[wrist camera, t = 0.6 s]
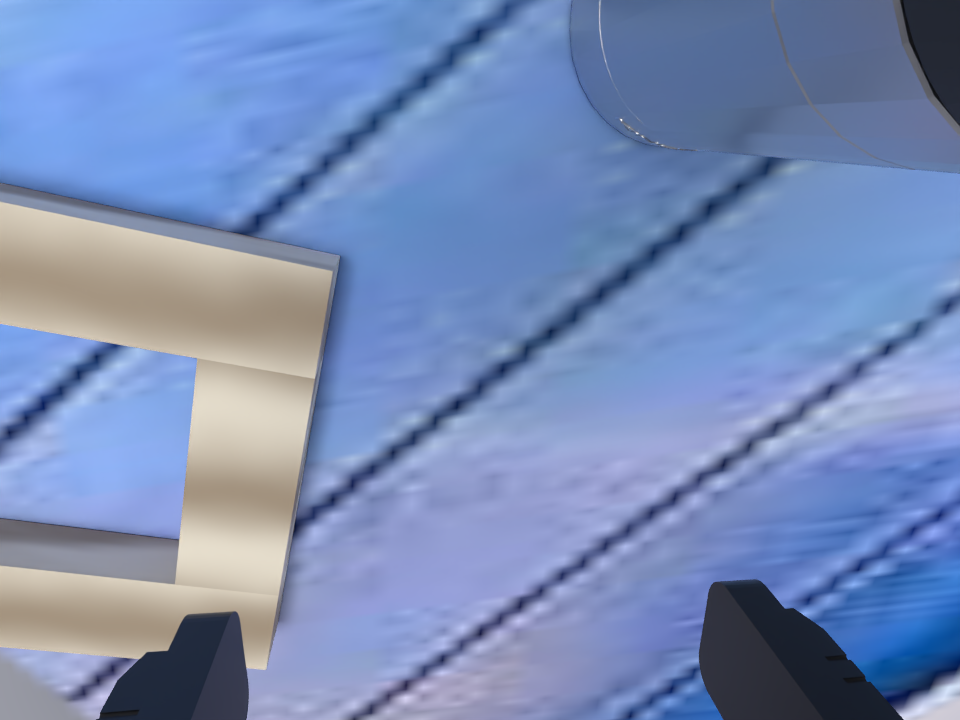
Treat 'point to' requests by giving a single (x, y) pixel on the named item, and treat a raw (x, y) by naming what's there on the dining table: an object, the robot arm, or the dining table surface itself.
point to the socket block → (214, 424)
